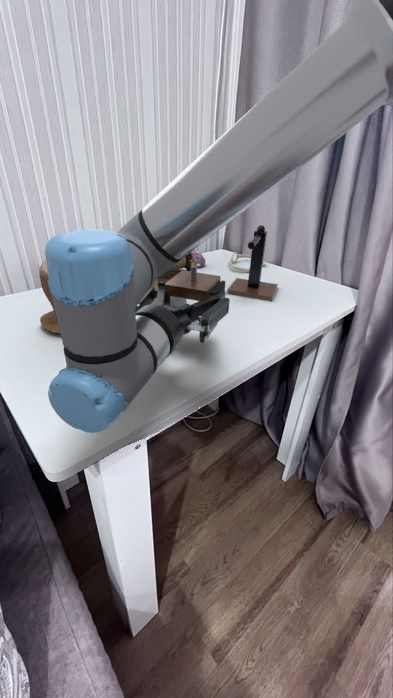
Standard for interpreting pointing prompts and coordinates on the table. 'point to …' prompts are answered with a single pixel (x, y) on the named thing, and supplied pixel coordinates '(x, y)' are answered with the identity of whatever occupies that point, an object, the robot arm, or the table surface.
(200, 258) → the video game controller
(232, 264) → the headband
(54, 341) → the table surface
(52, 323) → the stone cup
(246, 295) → the rack
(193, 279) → the wooden stand with peg
